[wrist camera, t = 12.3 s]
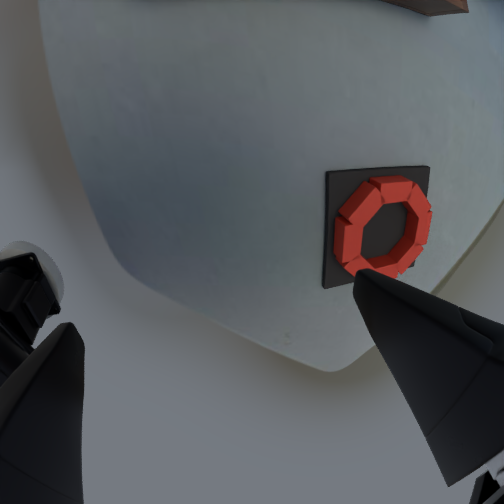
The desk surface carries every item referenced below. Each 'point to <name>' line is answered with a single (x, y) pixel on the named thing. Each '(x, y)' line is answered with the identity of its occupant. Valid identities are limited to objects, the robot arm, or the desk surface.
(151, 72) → the desk surface
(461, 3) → the crate
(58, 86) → the desk surface
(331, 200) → the mat
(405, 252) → the red ring
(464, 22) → the desk surface
